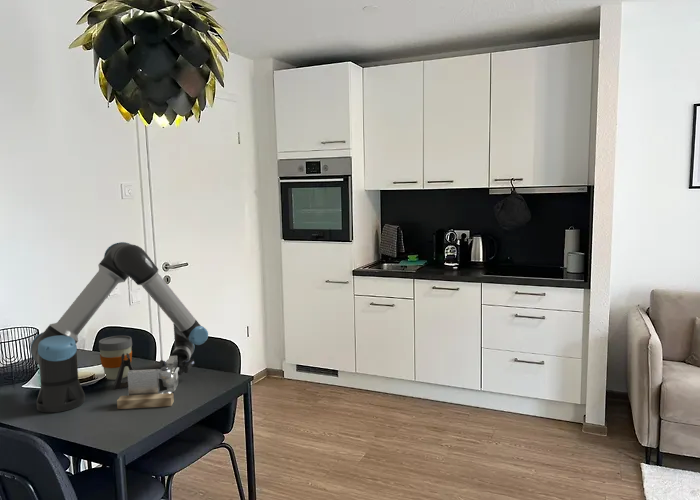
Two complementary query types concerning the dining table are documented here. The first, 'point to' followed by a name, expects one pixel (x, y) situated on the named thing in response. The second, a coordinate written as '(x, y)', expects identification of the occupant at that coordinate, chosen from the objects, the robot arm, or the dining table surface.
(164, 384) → the loose hinge leaf
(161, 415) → the dining table surface
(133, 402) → the oak sill
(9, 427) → the dining table surface
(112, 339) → the reusable coffee cup
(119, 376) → the dark forked stand
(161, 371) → the fixed steel leaf
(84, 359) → the dining table surface
